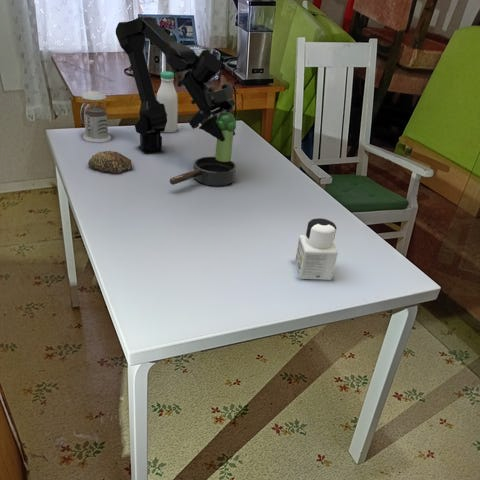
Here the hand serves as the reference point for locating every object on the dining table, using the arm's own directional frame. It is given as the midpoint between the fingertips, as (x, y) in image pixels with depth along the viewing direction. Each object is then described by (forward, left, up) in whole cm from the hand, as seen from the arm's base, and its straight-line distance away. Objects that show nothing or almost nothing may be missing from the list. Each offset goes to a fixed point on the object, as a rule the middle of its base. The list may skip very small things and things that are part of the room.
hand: (228, 138), depth 156 cm
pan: (-3, +2, -13) cm, 14 cm away
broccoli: (-1, +1, -7) cm, 7 cm away
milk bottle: (+1, +48, -13) cm, 50 cm away
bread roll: (-30, +20, -13) cm, 39 cm away
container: (-6, -55, -13) cm, 57 cm away
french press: (-27, +46, -13) cm, 55 cm away
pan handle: (-15, -2, -10) cm, 18 cm away
